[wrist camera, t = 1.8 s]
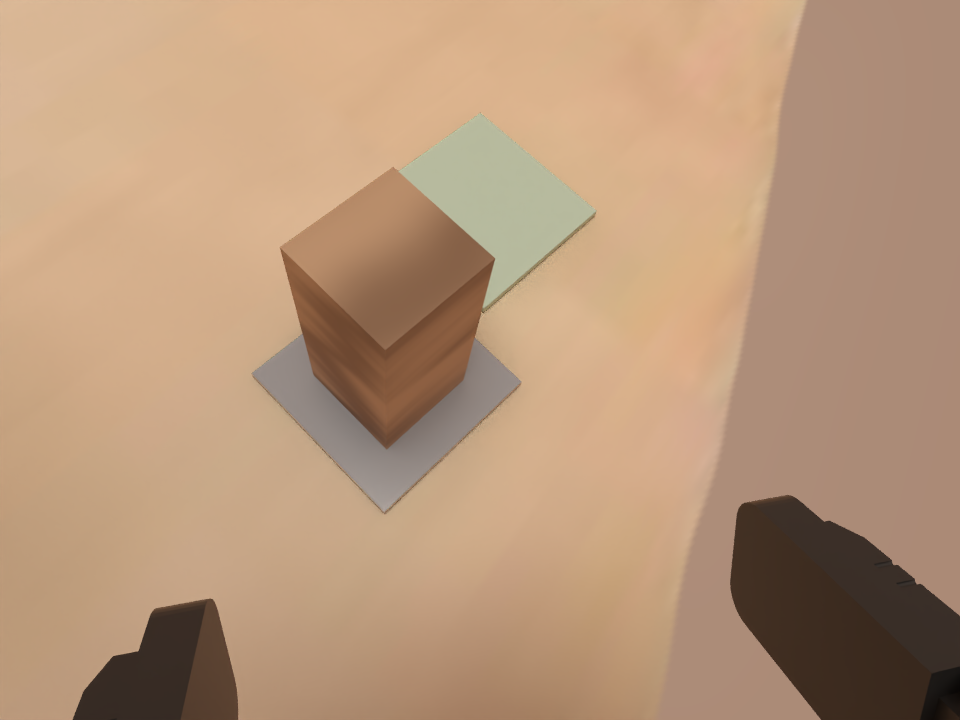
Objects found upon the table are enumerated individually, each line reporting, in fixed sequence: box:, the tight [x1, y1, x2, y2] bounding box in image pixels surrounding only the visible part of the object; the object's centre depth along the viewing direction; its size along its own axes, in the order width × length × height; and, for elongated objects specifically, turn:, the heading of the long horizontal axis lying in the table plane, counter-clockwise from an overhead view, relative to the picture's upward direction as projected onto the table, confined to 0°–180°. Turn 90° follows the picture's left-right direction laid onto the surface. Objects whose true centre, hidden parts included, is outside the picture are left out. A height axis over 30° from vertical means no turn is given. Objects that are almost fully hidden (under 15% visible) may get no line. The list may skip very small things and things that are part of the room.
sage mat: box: [398, 113, 596, 312], centre depth 38 cm, size 9×9×1 cm
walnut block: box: [280, 167, 495, 450], centre depth 28 cm, size 5×5×11 cm
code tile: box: [252, 334, 521, 514], centre depth 33 cm, size 9×9×1 cm
